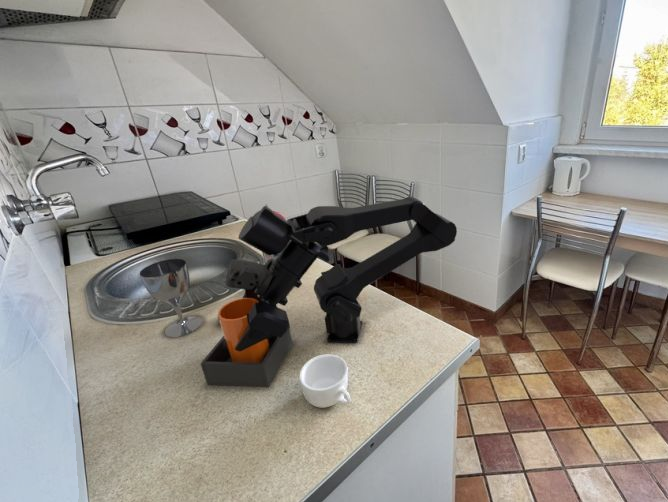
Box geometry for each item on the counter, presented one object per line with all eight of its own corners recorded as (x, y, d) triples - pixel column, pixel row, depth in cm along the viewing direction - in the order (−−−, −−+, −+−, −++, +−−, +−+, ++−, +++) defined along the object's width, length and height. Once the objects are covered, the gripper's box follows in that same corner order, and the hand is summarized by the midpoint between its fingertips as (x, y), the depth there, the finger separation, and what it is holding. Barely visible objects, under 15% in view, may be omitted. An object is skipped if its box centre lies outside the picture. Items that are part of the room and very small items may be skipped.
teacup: (294, 397, 54) (289, 373, 52) (330, 370, 60) (327, 347, 58) (332, 433, 48) (328, 407, 46) (368, 398, 54) (366, 374, 52)
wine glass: (183, 313, 77) (164, 257, 71) (212, 317, 75) (194, 260, 69) (153, 336, 69) (129, 275, 64) (184, 340, 68) (162, 279, 62)
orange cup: (277, 348, 65) (265, 297, 60) (262, 374, 58) (248, 320, 54) (244, 347, 65) (231, 297, 60) (226, 373, 59) (209, 320, 54)
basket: (292, 342, 67) (288, 323, 65) (269, 387, 56) (263, 365, 55) (240, 341, 67) (234, 322, 65) (207, 385, 57) (200, 363, 55)
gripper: (246, 227, 62) (196, 291, 62) (253, 268, 46) (185, 353, 46) (295, 254, 68) (249, 313, 68) (315, 299, 53) (255, 374, 53)
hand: (236, 334), depth 58 cm, fingers open, 9 cm apart
